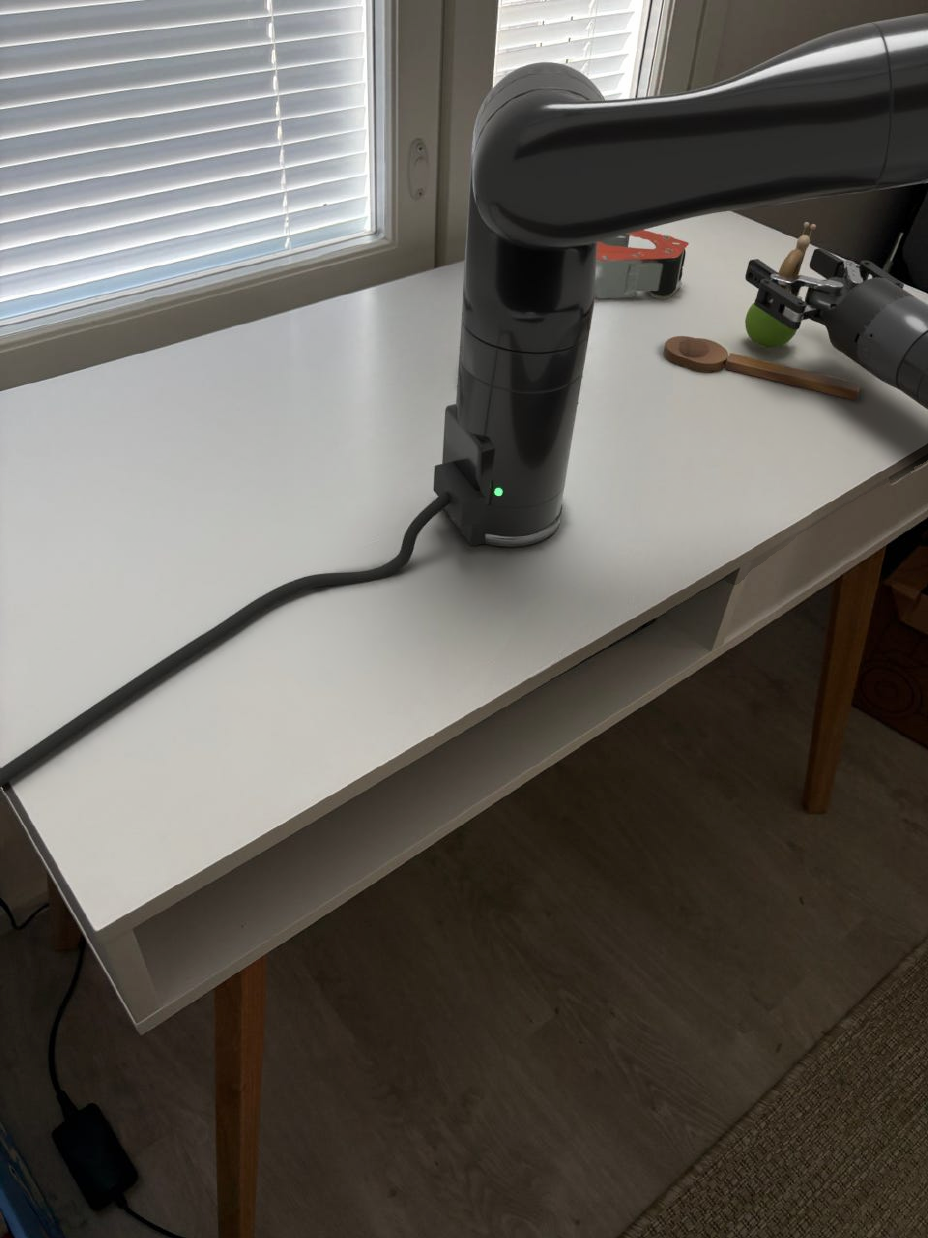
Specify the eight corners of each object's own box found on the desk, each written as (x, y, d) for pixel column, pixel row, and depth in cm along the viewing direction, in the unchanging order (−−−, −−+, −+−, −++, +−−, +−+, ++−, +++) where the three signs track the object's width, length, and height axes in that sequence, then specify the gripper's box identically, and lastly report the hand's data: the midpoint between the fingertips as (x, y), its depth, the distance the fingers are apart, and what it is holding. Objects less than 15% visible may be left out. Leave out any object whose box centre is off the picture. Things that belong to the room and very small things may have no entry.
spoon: (858, 383, 103) (861, 374, 102) (854, 408, 99) (857, 399, 99) (669, 339, 107) (671, 330, 107) (658, 361, 104) (660, 352, 103)
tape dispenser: (537, 347, 107) (711, 322, 111) (540, 301, 103) (720, 278, 107) (492, 265, 119) (651, 245, 122) (493, 221, 115) (657, 202, 118)
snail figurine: (796, 338, 109) (837, 230, 101) (782, 362, 105) (824, 251, 97) (748, 323, 111) (785, 214, 103) (732, 346, 106) (769, 234, 98)
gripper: (963, 286, 95) (845, 217, 105) (848, 310, 90) (736, 235, 100) (932, 357, 100) (823, 286, 110) (822, 384, 95) (718, 306, 105)
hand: (782, 262), depth 105 cm, fingers open, 8 cm apart
